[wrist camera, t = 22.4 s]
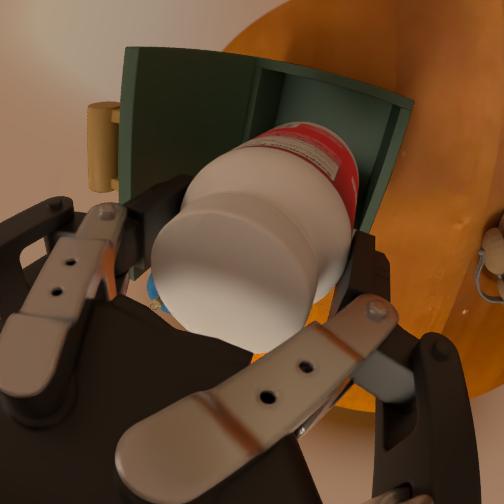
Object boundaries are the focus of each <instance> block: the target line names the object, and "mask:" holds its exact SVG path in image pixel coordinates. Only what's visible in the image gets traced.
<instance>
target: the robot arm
mask: <svg viewBox="0 0 504 504" xmlns="http://www.w3.org/2000/svg"><path fill="white" fill-rule="evenodd" d="M194 178H195V177H193V176H190V175H186V174H183V173H181V174H179V175H177V176H176V177H174V178H172V179H171V180H169V181H166V182H162V183H158V184H155V185H153V186H152V187H150V188H148V189H147V190H145V191H143V192H142V193H141V194H138V195H137V196H135V197H133V198H132V199H130V200H129V201H127V202H125V203H124V204H122V205H121V204H119V203H112V202H111V203H101V204H98V205H96V206H94V207H92V208H91V209H90V210H89V212H88V213H82V212H74V207H73V201H72V199H71V198H68V197H64V196H58V197H53V198H49V199H47V200H45V201H42V202H40V203H38V204H36V205H34V206H32V207H31V208H28V209H26V210H25V211H22V212H21V213H18V214H17V215H15V216H13V217H11V218H9V219H7V220H5V221H3V222H1V223H0V504H323V503H322V501H321V498H320V495H319V493H318V491H317V488H316V486H315V483H314V481H313V479H312V476H311V473H310V471H309V468H308V466H307V463H306V461H305V459H304V456H303V454H302V451H301V449H300V446H299V443H298V441H299V440H300V439H301V438H302V437H303V436H304V435H305V434H306V433H307V432H308V431H309V430H310V429H312V427H313V426H314V425H315V424H316V423H317V422H318V421H319V420H320V419H321V418H322V417H323V416H324V415H325V414H326V413H327V412H328V411H329V410H330V409H331V408H332V407H333V406H334V405H335V404H336V403H337V402H338V401H339V400H340V399H341V398H342V397H343V396H344V395H345V394H346V393H347V391H348V390H349V389H350V388H351V387H352V386H353V385H354V384H357V385H358V386H360V387H361V388H363V389H365V390H366V391H368V392H369V393H371V394H372V395H374V396H375V397H376V421H375V424H376V425H375V457H374V475H373V488H372V499H370V500H368V501H366V502H365V503H363V504H481V485H480V471H479V461H478V452H477V444H476V437H475V430H474V423H473V418H472V412H471V406H470V401H469V396H468V391H467V387H466V382H465V378H464V373H463V369H462V365H461V361H460V357H459V354H458V351H457V349H456V347H455V346H454V344H453V343H452V342H451V341H450V340H449V339H448V338H446V337H445V336H443V335H441V334H439V333H435V332H429V333H426V334H424V335H423V336H422V337H421V339H420V340H419V339H418V338H416V337H415V336H413V335H411V334H410V333H408V332H407V331H405V330H404V329H403V328H402V327H400V326H399V325H398V321H399V316H398V313H397V311H396V309H395V308H394V306H393V305H392V304H391V303H390V263H389V261H388V259H387V258H386V256H385V254H384V253H381V252H378V251H376V250H375V236H373V235H370V234H368V233H365V232H362V231H359V230H356V231H355V234H354V236H353V239H352V242H351V248H350V252H349V257H348V261H347V264H346V267H345V269H344V272H343V274H342V276H341V278H340V279H339V281H338V282H337V284H336V287H335V291H334V295H333V300H332V304H331V308H330V312H329V316H328V320H327V322H326V323H324V324H323V325H321V324H320V323H318V322H317V321H314V322H312V323H310V324H308V325H307V326H306V327H304V328H303V329H301V330H300V331H299V332H297V333H296V334H294V335H293V336H292V337H290V338H289V339H287V340H286V341H284V342H283V343H281V344H280V345H279V346H277V347H276V348H274V349H273V350H271V351H270V352H268V353H267V354H265V355H264V356H262V357H261V358H259V359H258V360H256V361H255V362H253V363H252V364H250V363H251V360H252V357H253V354H254V353H253V352H250V351H248V350H245V349H243V348H240V347H238V346H235V345H233V344H230V343H228V342H225V341H223V340H221V339H218V338H215V337H210V336H205V335H200V334H195V333H191V332H186V331H182V330H178V329H175V328H174V327H172V326H171V325H170V324H168V323H167V322H166V321H164V320H163V319H162V318H161V317H160V316H158V315H157V314H156V313H155V312H153V311H152V310H151V309H150V308H149V307H147V306H145V305H143V304H141V303H139V302H137V301H135V300H133V299H131V298H129V297H127V296H126V292H127V288H128V284H129V280H130V276H131V274H130V268H131V267H132V266H133V265H134V266H136V267H138V268H140V269H142V270H146V269H147V268H148V267H149V266H151V252H152V248H153V244H154V242H155V239H156V237H157V236H158V234H159V232H160V231H161V230H162V228H163V227H164V226H165V225H166V224H167V223H168V222H169V221H171V220H172V219H173V218H174V217H175V216H176V215H177V214H179V213H180V208H181V204H182V201H183V198H184V196H185V193H186V191H187V189H188V187H189V185H190V183H191V182H192V180H193V179H194ZM42 237H44V242H45V246H46V251H47V254H46V255H45V256H43V257H41V258H40V259H38V260H37V261H35V262H34V263H32V264H30V265H29V266H27V267H25V268H24V269H22V267H21V263H20V259H19V258H20V254H21V252H22V250H23V249H24V248H25V247H27V246H29V245H30V244H32V243H34V242H36V241H37V240H39V239H41V238H42Z"/></svg>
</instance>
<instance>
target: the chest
mask: <svg viewBox="0 0 504 504" xmlns="http://www.w3.org/2000/svg"><path fill="white" fill-rule="evenodd" d="M413 104H414V100H411V99H409V98H406V97H404V96H401V95H398V94H396V93H393V92H390V91H387V90H385V89H382V88H379V87H376V86H373V85H370V84H367V83H364V82H360V81H357V80H354V79H351V78H347V77H344V76H340V75H337V74H333V73H329V72H325V71H322V70H318V69H313V68H309V67H305V66H301V65H296V64H291V63H287V62H282V61H277V60H271V59H266V58H260V57H256V61H255V66H254V72H253V77H252V82H251V87H250V93H249V98H248V104H247V109H246V115H245V120H244V126H243V132H242V138H241V143H240V145H242V144H244V143H246V142H248V141H249V140H251V139H253V138H255V137H257V136H259V135H261V134H263V133H265V132H267V131H269V130H271V129H273V128H275V127H278V126H280V125H283V124H287V123H291V122H309V123H314V124H317V125H320V126H323V127H325V128H327V129H329V130H331V131H332V132H334V133H335V134H337V135H338V136H339V137H340V138H341V139H342V140H343V141H344V142H345V143H346V145H347V146H348V147H349V149H350V150H351V152H352V154H353V156H354V158H355V161H356V164H357V168H358V175H359V186H358V195H357V204H356V211H355V219H354V227H353V234H352V238H353V236H354V234H355V231H356V230H359V231H362V232H365V233H368V234H369V232H370V229H371V227H372V224H373V222H374V219H375V217H376V214H377V211H378V209H379V206H380V204H381V201H382V198H383V196H384V193H385V190H386V187H387V185H388V182H389V179H390V176H391V173H392V171H393V168H394V165H395V162H396V159H397V156H398V153H399V150H400V147H401V144H402V141H403V138H404V135H405V131H406V128H407V125H408V122H409V118H410V115H411V111H412V108H413Z"/></svg>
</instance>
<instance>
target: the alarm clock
mask: <svg viewBox="0 0 504 504" xmlns="http://www.w3.org/2000/svg"><path fill="white" fill-rule="evenodd" d="M478 254H479V255H480V259H479V262H478V264H477V266H476V269H475V273H474V281H475V285H476V288H477V290H478V292H479V294H480V295H481V297H482V298H483V299H484V300H486V301H488V302H490V303H503V305H504V214H503V216H502V218H501V220H500V222H499V226H498V228H496V227H495V228H491V229H489V230H488V231H487V232H486V233H485V235H484V236H483V239H482V244H481V250H479V251H478ZM483 264H485V266H486V267H487V269H488V270H489V271H490V272H492V273H494V274H497V275H498V277H499V279H498V283H497V288H498V292H499V294H500V296H501V297H492V296H488V295H485V294H484V293H483V292H482V291H481V290H480V288H479V275H480V271H481V269H482V267H483Z"/></svg>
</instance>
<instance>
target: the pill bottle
mask: <svg viewBox="0 0 504 504" xmlns="http://www.w3.org/2000/svg"><path fill="white" fill-rule="evenodd" d="M358 186H359V175H358V168H357V164H356V161H355V158H354V156H353V154H352V152H351V150H350V149H349V147H348V146H347V145H346V143H345V142H344V141H343V140H342V139H341V138H340V137H339V136H338V135H337V134H335V133H334V132H332V131H331V130H329V129H327V128H325V127H323V126H320V125H317V124H314V123H309V122H291V123H287V124H283V125H280V126H278V127H275V128H273V129H271V130H269V131H267V132H265V133H263V134H261V135H259V136H257V137H255V138H253V139H251V140H249V141H248V142H246V143H244V144H242V145H240V146H238V147H236V148H234V149H232V150H231V151H229V152H227V153H225V154H222V155H220V156H219V157H217V158H216V159H215V160H213V161H212V162H210V163H209V164H208V165H206V166H205V167H204V168H203V169H202V170H201V171H200V172H199V173H198V174H197V175H196V177H195V178H194V179H193V180H192V182H191V183H190V185H189V187H188V189H187V191H186V193H185V196H184V198H183V201H182V204H181V208H180V213H179V214H177V215H176V216H175V217H174V218H173V219H172V220H171V221H169V222H168V223H167V224H166V225H165V226H164V227H163V228H162V230H161V231H160V232H159V234H158V236H157V237H156V239H155V242H154V244H153V248H152V252H151V272H152V276H153V280H154V283H155V287H156V289H157V291H158V294H159V296H160V298H161V300H162V301H163V303H164V305H165V306H166V307H167V309H168V310H169V312H170V313H171V314H172V315H173V316H174V317H175V319H177V321H178V322H179V323H180V324H181V325H182V326H184V327H185V328H186V329H187V330H188V331H190V332H191V333H195V334H200V335H205V336H210V337H215V338H218V339H221V340H223V341H225V342H228V343H230V344H233V345H235V346H238V347H240V348H243V349H245V350H248V351H250V352H253V353H254V354H260V353H267V352H270V351H271V350H273V349H274V348H276V347H277V346H279V345H280V344H281V343H283V342H284V341H286V340H287V339H289V338H290V337H292V336H293V335H294V334H296V333H297V332H299V331H300V330H301V329H303V327H304V325H305V324H306V321H307V319H308V316H309V313H310V310H311V307H312V305H313V304H315V303H316V302H318V301H319V300H321V299H322V298H323V297H325V296H326V295H327V294H328V293H329V292H330V291H331V290H332V289H333V287H334V286H335V285H336V284H337V282H338V281H339V279H340V278H341V276H342V274H343V272H344V269H345V267H346V264H347V261H348V257H349V252H350V248H351V242H352V234H353V227H354V219H355V211H356V204H357V195H358Z"/></svg>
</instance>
